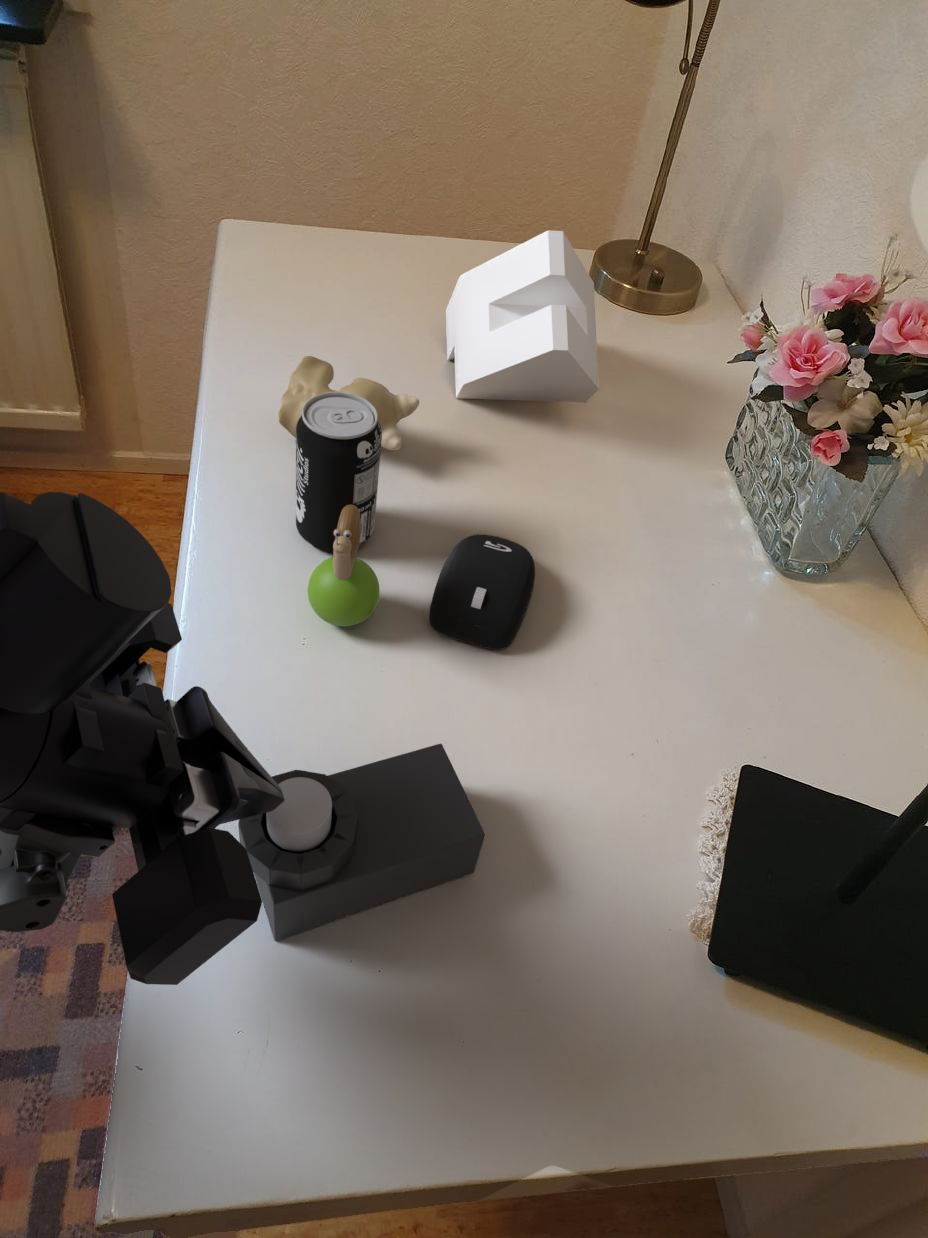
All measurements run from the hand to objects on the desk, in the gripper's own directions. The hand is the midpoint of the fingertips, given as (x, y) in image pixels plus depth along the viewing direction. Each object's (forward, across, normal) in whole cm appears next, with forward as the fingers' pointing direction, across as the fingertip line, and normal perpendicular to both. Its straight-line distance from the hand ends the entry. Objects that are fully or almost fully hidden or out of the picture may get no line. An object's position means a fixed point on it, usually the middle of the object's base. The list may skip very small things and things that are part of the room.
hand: (277, 800), depth 50 cm
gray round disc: (+3, 0, -1) cm, 3 cm away
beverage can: (+16, -30, +2) cm, 34 cm away
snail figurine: (+14, -20, 0) cm, 24 cm away
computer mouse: (+23, -19, +9) cm, 31 cm away
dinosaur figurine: (+20, -41, +6) cm, 46 cm away
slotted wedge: (+34, -45, +20) cm, 60 cm away
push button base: (+11, 0, -3) cm, 11 cm away
